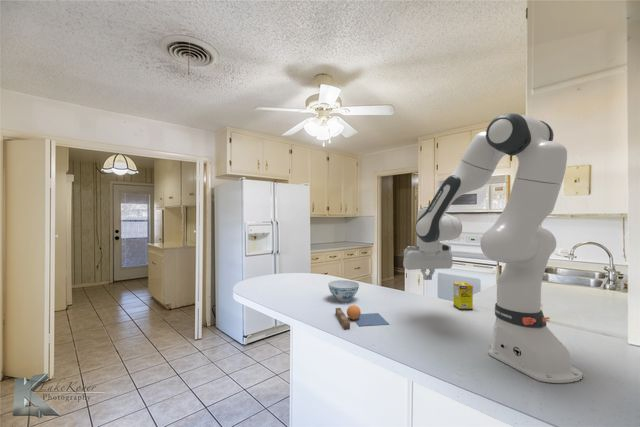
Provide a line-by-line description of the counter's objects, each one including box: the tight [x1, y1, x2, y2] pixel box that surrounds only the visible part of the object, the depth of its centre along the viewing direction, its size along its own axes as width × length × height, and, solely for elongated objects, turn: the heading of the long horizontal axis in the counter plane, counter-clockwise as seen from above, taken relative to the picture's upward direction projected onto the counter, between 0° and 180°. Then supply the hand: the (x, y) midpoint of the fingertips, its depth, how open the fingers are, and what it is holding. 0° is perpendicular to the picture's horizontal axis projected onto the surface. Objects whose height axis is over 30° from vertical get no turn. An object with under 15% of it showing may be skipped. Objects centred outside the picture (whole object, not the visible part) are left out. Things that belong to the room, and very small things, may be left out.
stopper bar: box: [335, 307, 351, 330], centre depth 113 cm, size 16×2×2 cm, turn 9°
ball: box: [346, 304, 362, 321], centre depth 115 cm, size 6×6×6 cm
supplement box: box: [453, 281, 474, 311], centre depth 129 cm, size 6×6×11 cm
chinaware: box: [328, 279, 360, 303], centre depth 141 cm, size 15×15×8 cm
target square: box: [354, 312, 390, 327], centre depth 115 cm, size 12×12×1 cm
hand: (427, 279), depth 119 cm, fingers closed
